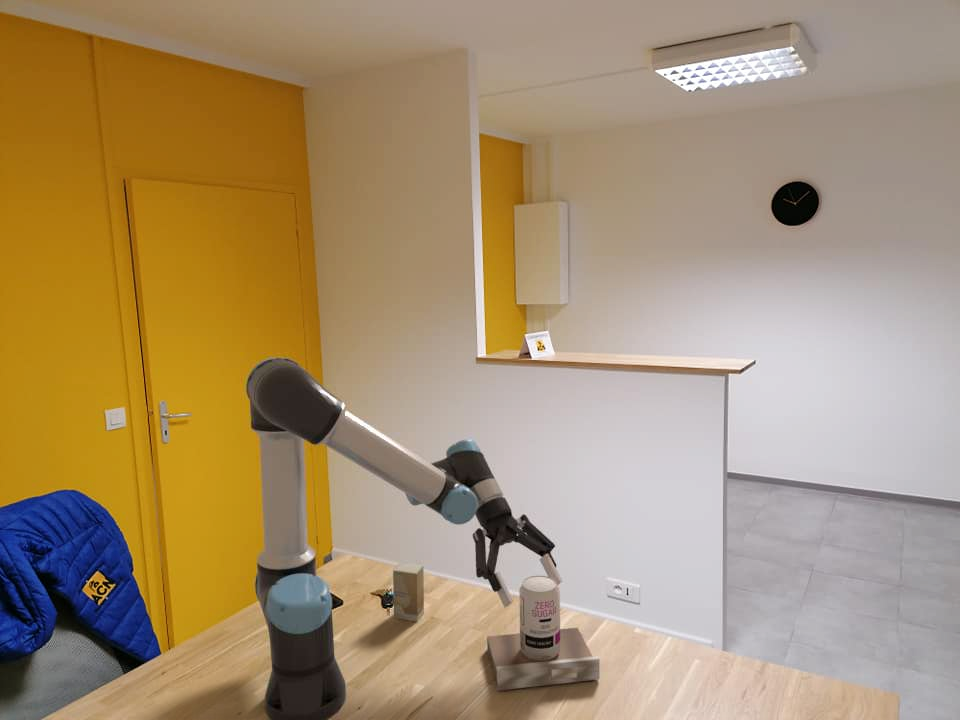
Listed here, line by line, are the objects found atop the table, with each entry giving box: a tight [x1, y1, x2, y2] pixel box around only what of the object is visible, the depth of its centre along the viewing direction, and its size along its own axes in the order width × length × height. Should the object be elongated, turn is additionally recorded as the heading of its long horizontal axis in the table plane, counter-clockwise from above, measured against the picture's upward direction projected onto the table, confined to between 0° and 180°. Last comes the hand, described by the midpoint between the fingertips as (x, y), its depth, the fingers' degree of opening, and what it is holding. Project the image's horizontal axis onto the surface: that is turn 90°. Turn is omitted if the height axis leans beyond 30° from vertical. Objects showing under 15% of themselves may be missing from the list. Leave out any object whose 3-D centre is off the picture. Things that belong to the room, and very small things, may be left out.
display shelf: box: [486, 627, 600, 691], centre depth 144 cm, size 20×15×5 cm
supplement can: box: [518, 574, 561, 661], centre depth 143 cm, size 8×8×15 cm
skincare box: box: [392, 562, 425, 622], centre depth 164 cm, size 6×4×12 cm
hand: (534, 594), depth 144 cm, fingers open, 13 cm apart
